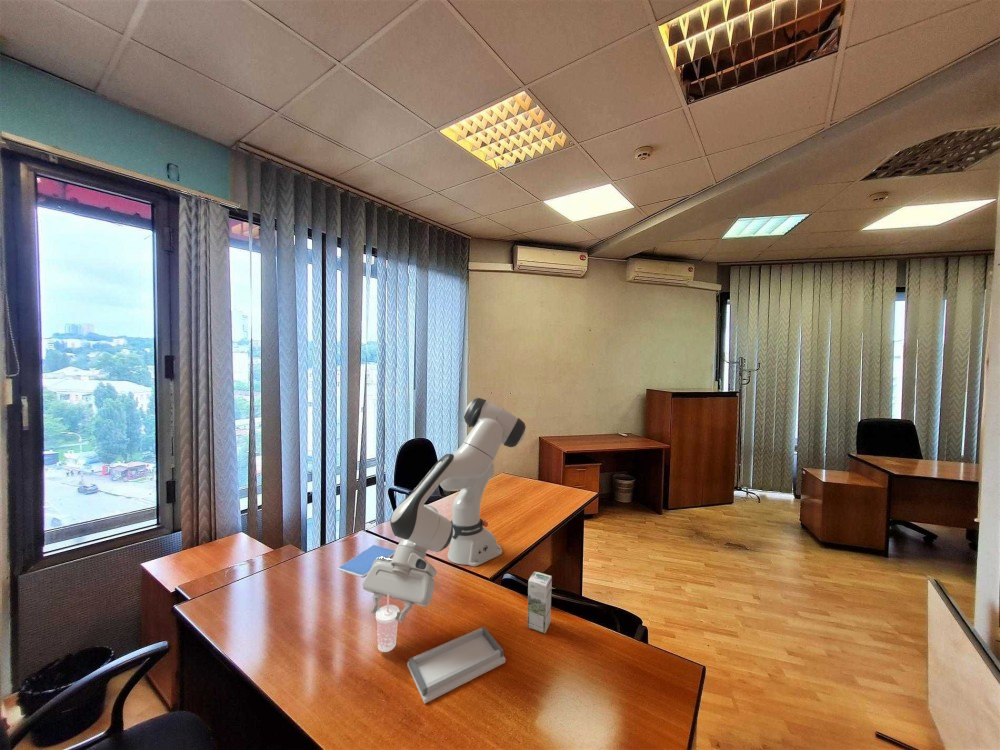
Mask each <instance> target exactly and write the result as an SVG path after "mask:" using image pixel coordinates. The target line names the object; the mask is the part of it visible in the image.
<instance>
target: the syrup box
mask: <svg viewBox="0 0 1000 750" xmlns="http://www.w3.org/2000/svg"><path fill="white" fill-rule="evenodd" d="M552 577H553V576H552V575H549V574H546V573H542V572H539V571H533V572H532V574H531V575H530V577H529V579H528V582H527V584H528V587H527V594H528V595H527V618H526V619H527V622H526V628H528V629H530V630H533V631H535V632H537V633H542V634H546V633H547V631H548V628H549V627H550V624H551V619H552V617H551V615H552V614H551V612H552V610H551V609H552V587H553V586H552V583H553V582H552V581H553V578H552Z"/></svg>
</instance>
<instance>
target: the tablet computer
mask: <svg viewBox="0 0 1000 750" xmlns="http://www.w3.org/2000/svg"><path fill="white" fill-rule="evenodd" d="M395 551H396V549H391V548H386V547H385V546H384V547H383V546H379V545H375V544H373V545H371V546H370V547H369V546H368V548H367V549H365V550H363V551H362V552H360V553H359V554H357V555H356V556H354V557H352V558H351V559H349V560H348V561H346V562H345V563H343V564H342V565H340V566H339V567H337V570H338V571H340V572H343V573H346V574H350V575H352V576H356V577H359V578H366V576H367V574H368V572H369V571H370V569H371V567H372V565H373V562H374V560H375V559H377V558H380V557H381V556H383V557H385V558H393V556H394V554H395ZM378 560H380V559H378Z"/></svg>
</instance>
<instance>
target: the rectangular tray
mask: <svg viewBox="0 0 1000 750" xmlns="http://www.w3.org/2000/svg"><path fill="white" fill-rule="evenodd" d="M406 662H407V663H406V664H407V668H408V670H409V672H410V675H411V676H412V679H413V681H414V684H415V686H416V688H417V690H418V692H419V695H420V697H421V700H422V702H423V703H424V704H427V703H429V702H431V701H433V700H435V699H436V698H439V697H441V696H442V695H444V694H447V693H448V692H451V691H453V690H454V689H456V688H459V687H460V686H462V685H465V684H466V683H468V682H470V681H472V680H473V679H476V678H477V677H479V676H482V675H483V674H486V673H487V672H489V671H491V670H493V669H495V668H497V667H499V666H501V665H503V664H506V657H505V656H504V649H503V648H502V646H501V645H500V644H499V643H498V641H497V640H496V638H494V636H493V635H492V634H491V633H490V632H489V630H488V629H487V627H485V626H482V627H479V628H478V629H475V630H473V631H471V632H468V633H466V634H464V635H461V636H459V637H457V638H456V637H455V638H454V639H451V640H450V641H448V642H445V643H442V644H440V645H438V646H436V647H433V648H431V649H429V650H426V651H423V652H421V653H420V654H417V655H415V656H412V657H410V658H408V661H406Z"/></svg>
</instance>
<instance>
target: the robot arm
mask: <svg viewBox="0 0 1000 750" xmlns="http://www.w3.org/2000/svg"><path fill="white" fill-rule="evenodd" d="M463 418H464V419H463V420H464V422H465V423H466V425H468V429H470V428H471V430H470V431H469V432H468V434H467V436H466V437H465V438H464V440H463V442H462V444H461V445H460V447H459V448H457V449H456V450H455V451H454V452H451V453H446V454H444V455H443V456H442V457H440V458H439V460H437V461H436V463H435V464H434V465H433V466H432V467H431V468H430V469H429V470H428V471H427V473H426V474H425V476H423V478H422V479H421V480H420V481H419V483H418V484H417V485H416V487H414V488H413V490H412V491H411V492H409V493H410V494H408V496H406V497H405V498H404V499H403V500H402V501H401V502H400V503H399V504H398V505H397V507H396V508H395V509H394V511H393V512H392V513H391V516H390V520H389V521H390V522H389V523H390V528H391V531H392V533H393V535H394V537H398V538H400V539H401V540H400V542H399V543H398V544H397V547H396V549H395V554H394V555H393V556H392V557H390V558H385V557H383V556H381V557H380V558H377V559H375V560H374V562H373V565H372V567H371V569H370V571H369V572H368V574H367V575H366V576H365V577H364V579H363V582H362V589H363V590H365V591H366V592H368V593H372V594H373V595H372V603H373V604H372V605H373V606H372V607H371V610H370V614H372V615H375V616H376V612H377V610H378V609H379V608H381V606H379V601H380V600H382V597H386V598H387V594H388V593H389V599H391V598H392V599H395V600H399V601H403V602H404V608H403V609H402V610H401V611H400V612H398V613H397V616H396V618H395V620H397V621H398V622H400V623H402V622H403V621H404V618H405V616H406V615H407V614H408V612H409V611H410V610H411V609H412V608H413V604H414V605H417V606H419V607H425V608H426V607H427V606H428V605H430V604H431V602H432V597H433V594H434V590H435V584H436V582H435V579H434V578H436V576H437V573H438V571H437V569H436V568H435V567H434V566H433V565H432V564H431V563H430V562H428V561H427V560H426V556H427V551H431V552H435V553H439V552H441V551H443V550H445V549H446V548H448V551H447V555H446V557H447V559H448V561H450V562H452V563H453V564H454V563H455V564H458V565H464V566H465V565H467V566H470V567H477V566H480V565H482V564H484V563H486V562H488V561H490V560H493V559H494V558H497V557H499V556H500V555H502V554H503V549H502V547H501V546H500V545H499V544H498V542H497V539H496V537H495V535H494V534H493V533H492V532H491V531H490V530H488V529H487V527H488V526H489V522H488V521H486V520H483V519H482V518H481V516H480V515H481V503H482V498H483V495H484V492H485V489H486V486H487V485H488V483H489V481H490V480H492V478H493V476H494V474H495V473H494V472H495V466H494V460H495V458H496V456H497V454H498V453H499V450H500V447H501V445H502V444H503V446H505V447H508V448H515V447H516V446H517V445H519V444H520V443H521V442H522V440H523V439H524V437H525V435H526V423H525V422H524V421H523V420H522V419H521V418H519V417H516V415H514V414H513V413H511V412H510V411H508V410H506V409H505V408H502V407H500V406H499V405H496V404H494V403H492V402H490V401H487V400H486V399H484V398H481V397H476V398H474V399H473V400H471V401H470V402H469V403H468V405H467V406H466V408H465V411H464V416H463ZM439 486H440V487H441V488H442V490H444V492H445V491H446V492H456V491H457V492H458V491H459V492H458V494H457V495H455V497H454V499H453V501H452V512H451V515H452V517H451V520H450V519H449V518H447V517H445V516H444V515H442V514H440V513H439V511H438V510H437V508H435V507H434V506H432V505H429V504H425V503H426V502H427V501H428V499H429V498H430V497H431V495H432V494H433V493H434V492H435V490H436V489H437V488H438V487H439ZM448 546H449V547H448ZM378 559H380V560H378Z"/></svg>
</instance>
